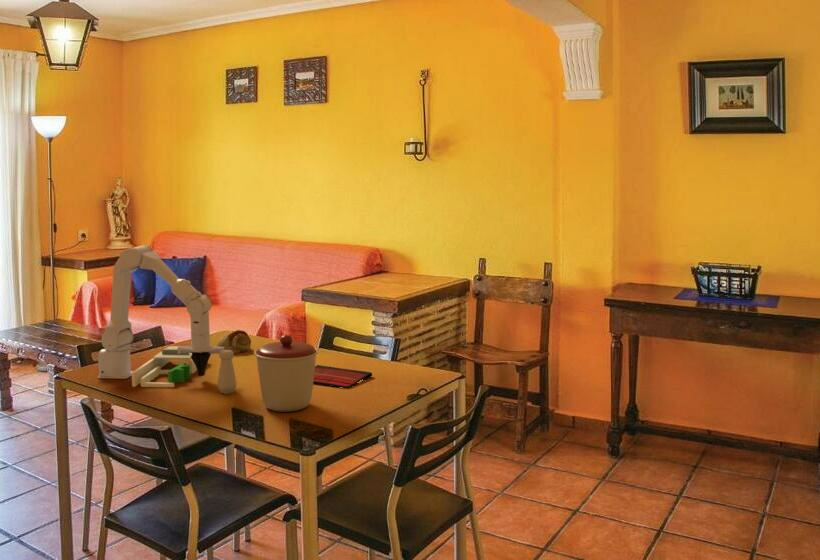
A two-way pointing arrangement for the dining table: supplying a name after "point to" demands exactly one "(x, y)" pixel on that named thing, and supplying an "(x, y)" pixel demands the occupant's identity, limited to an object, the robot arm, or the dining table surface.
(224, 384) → the salt shaker
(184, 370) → the pipe clamp
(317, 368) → the binder
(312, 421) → the dining table surface
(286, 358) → the canister
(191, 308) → the robot arm
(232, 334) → the pastry
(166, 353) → the door
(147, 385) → the housing
